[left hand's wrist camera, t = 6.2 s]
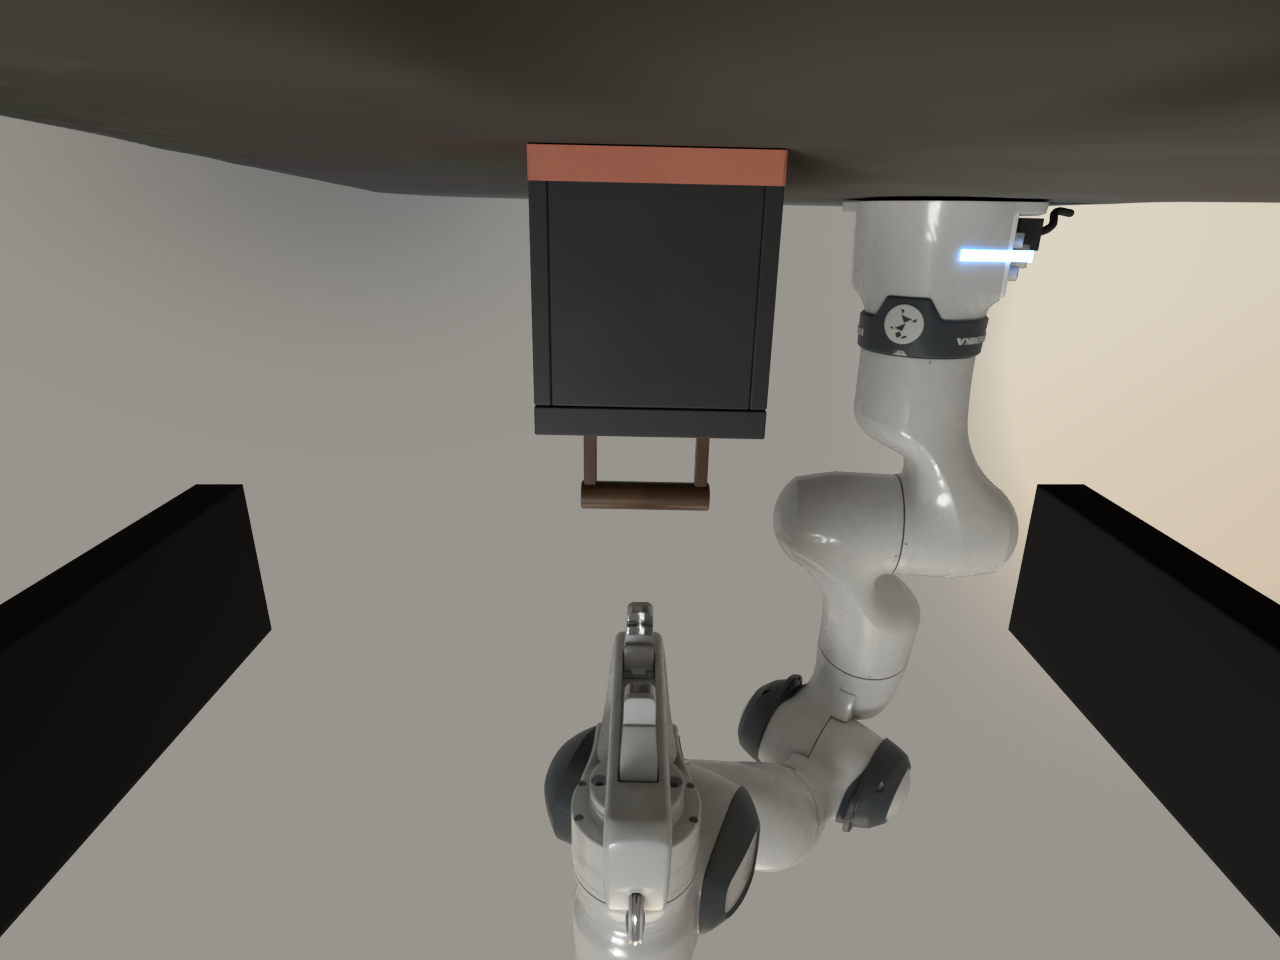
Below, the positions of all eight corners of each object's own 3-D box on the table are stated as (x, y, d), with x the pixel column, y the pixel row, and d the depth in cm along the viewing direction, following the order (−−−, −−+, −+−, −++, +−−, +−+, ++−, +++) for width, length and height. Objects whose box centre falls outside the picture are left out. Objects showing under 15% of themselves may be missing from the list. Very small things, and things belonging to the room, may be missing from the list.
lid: (732, 360, 43) (724, 489, 46) (562, 357, 43) (564, 486, 46) (766, 411, 31) (753, 580, 34) (534, 406, 31) (538, 576, 34)
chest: (747, 170, 39) (734, 362, 42) (558, 165, 39) (560, 359, 42) (788, 149, 28) (767, 410, 31) (526, 143, 28) (533, 405, 31)
